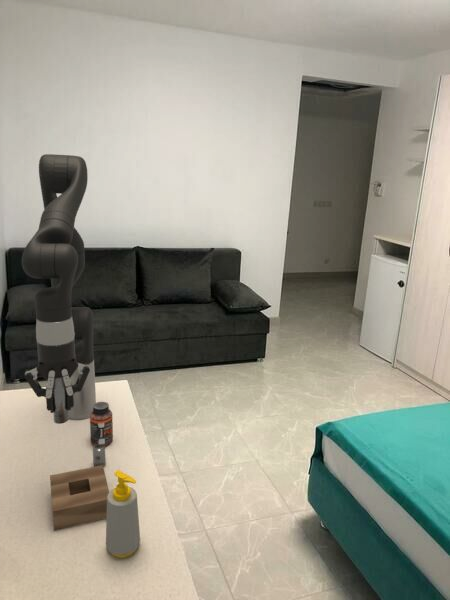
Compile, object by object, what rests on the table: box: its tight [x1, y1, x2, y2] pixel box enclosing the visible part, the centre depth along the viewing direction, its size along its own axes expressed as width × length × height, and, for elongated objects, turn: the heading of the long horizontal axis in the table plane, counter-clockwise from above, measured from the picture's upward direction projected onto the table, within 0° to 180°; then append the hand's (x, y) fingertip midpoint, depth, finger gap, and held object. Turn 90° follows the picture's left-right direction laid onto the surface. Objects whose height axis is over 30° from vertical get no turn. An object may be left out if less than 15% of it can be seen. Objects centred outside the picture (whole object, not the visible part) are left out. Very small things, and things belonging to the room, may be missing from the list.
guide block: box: [49, 465, 110, 531], centre depth 110 cm, size 12×12×5 cm
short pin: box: [92, 445, 107, 468], centre depth 123 cm, size 3×3×5 cm
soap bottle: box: [105, 469, 141, 559], centre depth 97 cm, size 7×7×18 cm
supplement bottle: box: [89, 401, 114, 447], centre depth 132 cm, size 6×6×11 cm
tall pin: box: [52, 377, 69, 425], centre depth 107 cm, size 3×3×11 cm
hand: (60, 409), depth 108 cm, fingers closed on tall pin, 3 cm apart
